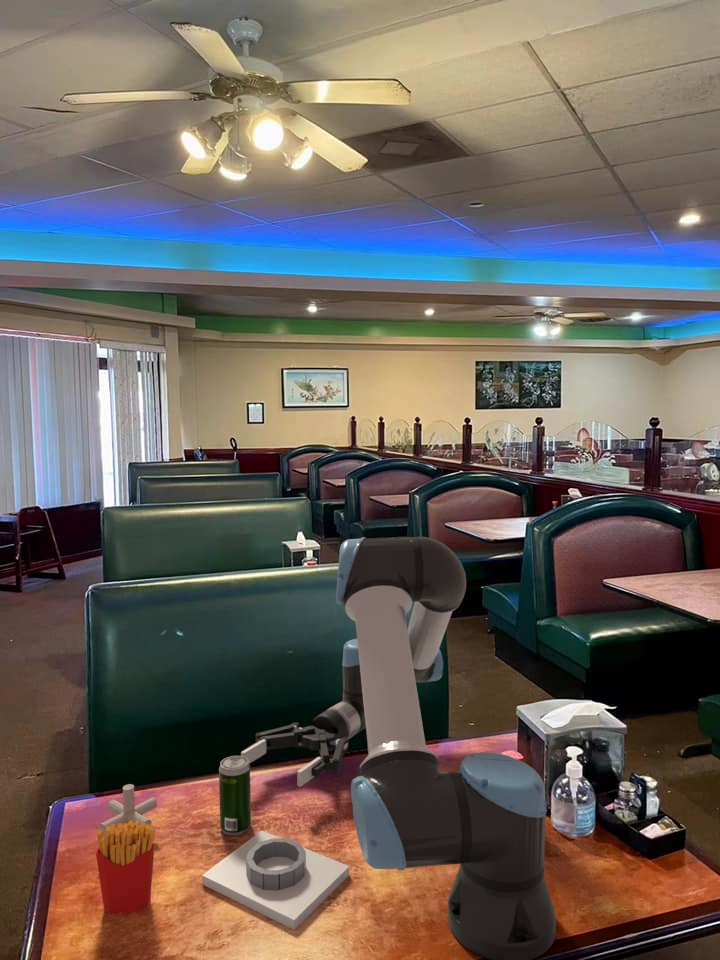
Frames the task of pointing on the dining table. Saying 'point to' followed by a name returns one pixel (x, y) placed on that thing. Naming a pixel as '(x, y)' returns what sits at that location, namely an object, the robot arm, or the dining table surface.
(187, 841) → the dining table surface
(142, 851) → the french fries
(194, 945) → the dining table surface
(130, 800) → the pipe connector
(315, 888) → the holder
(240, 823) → the beer can
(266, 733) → the robot arm
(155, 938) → the dining table surface
